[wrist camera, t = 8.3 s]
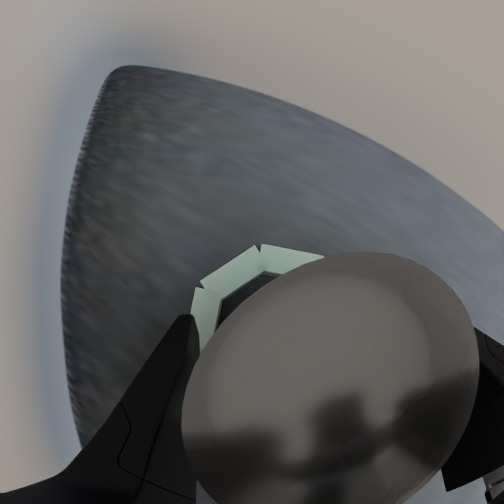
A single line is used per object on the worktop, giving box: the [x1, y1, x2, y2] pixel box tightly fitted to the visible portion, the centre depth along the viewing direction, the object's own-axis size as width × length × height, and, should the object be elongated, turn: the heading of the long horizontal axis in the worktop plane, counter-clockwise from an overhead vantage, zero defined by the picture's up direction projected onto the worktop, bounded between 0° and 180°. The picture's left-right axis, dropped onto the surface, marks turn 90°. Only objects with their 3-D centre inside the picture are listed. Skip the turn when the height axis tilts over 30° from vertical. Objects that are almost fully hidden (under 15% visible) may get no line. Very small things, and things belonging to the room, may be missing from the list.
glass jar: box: [181, 252, 479, 504], centre depth 10 cm, size 5×5×13 cm
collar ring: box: [190, 244, 324, 355], centre depth 15 cm, size 10×10×2 cm
